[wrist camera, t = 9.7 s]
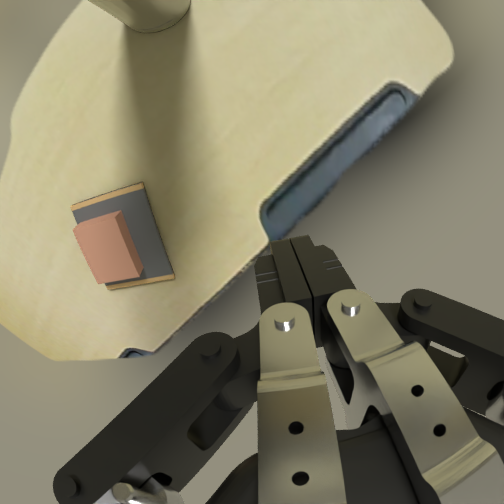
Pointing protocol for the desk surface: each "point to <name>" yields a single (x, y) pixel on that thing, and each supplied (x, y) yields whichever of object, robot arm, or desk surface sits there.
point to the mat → (132, 230)
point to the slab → (108, 248)
